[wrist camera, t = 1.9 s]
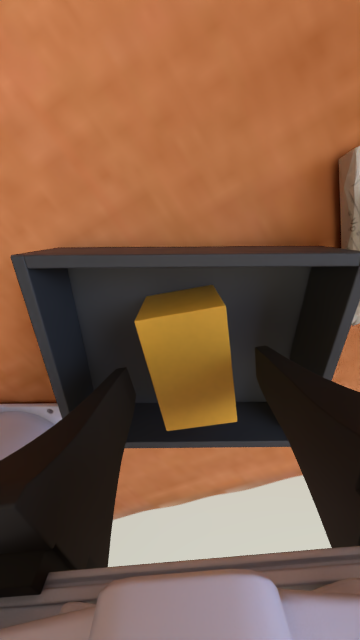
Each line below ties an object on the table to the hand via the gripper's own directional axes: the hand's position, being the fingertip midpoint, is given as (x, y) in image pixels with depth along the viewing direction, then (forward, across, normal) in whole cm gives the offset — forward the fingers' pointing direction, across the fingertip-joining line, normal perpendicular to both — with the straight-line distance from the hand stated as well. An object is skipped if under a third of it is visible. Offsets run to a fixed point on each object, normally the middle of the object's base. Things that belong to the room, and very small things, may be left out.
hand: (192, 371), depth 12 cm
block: (+3, 0, 0) cm, 4 cm away
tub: (+4, 0, 0) cm, 4 cm away
